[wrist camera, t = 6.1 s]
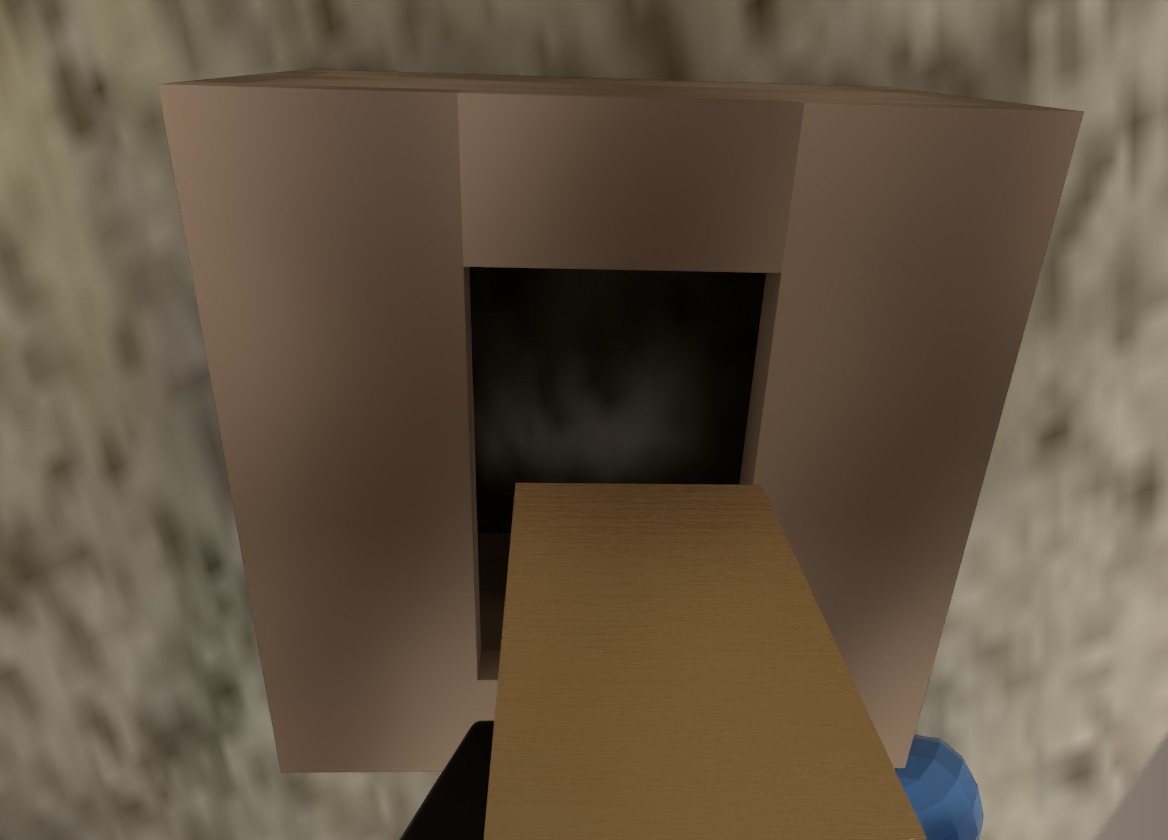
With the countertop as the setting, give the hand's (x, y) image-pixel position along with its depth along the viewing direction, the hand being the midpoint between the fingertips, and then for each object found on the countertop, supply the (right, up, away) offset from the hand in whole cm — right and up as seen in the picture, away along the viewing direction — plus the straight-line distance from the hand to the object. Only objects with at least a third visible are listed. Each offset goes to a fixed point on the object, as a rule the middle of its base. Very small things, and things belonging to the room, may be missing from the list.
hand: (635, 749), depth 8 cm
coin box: (0, +5, +11) cm, 12 cm away
